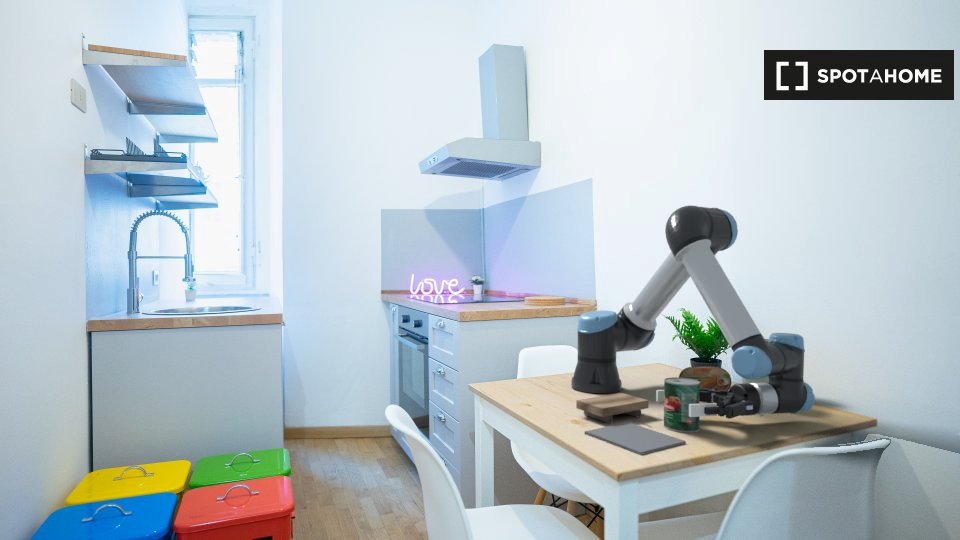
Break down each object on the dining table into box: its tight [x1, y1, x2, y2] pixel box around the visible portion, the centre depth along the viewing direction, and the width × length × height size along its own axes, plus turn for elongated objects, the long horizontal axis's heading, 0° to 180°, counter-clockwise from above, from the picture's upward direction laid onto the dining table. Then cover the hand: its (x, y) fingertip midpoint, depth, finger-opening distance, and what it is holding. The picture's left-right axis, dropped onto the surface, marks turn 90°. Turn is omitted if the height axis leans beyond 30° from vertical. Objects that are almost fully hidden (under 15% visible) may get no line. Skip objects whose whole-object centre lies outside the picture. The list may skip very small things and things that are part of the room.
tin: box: [678, 366, 732, 391], centre depth 163 cm, size 15×3×8 cm, turn 91°
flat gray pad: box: [584, 422, 687, 456], centre depth 121 cm, size 16×14×1 cm
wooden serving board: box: [575, 392, 650, 424], centre depth 138 cm, size 9×16×4 cm, turn 123°
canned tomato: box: [663, 376, 700, 434], centre depth 129 cm, size 8×8×11 cm
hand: (672, 402), depth 129 cm, fingers open, 13 cm apart
